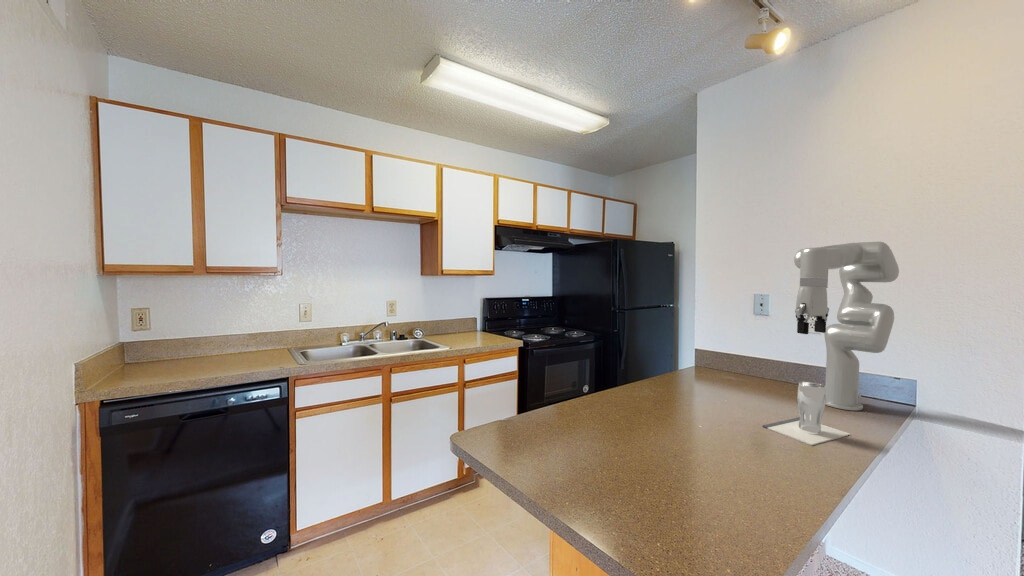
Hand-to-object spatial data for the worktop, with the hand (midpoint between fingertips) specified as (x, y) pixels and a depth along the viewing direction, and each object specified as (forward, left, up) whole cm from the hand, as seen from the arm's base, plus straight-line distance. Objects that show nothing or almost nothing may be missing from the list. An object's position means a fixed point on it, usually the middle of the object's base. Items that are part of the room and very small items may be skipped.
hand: (811, 332), depth 128 cm
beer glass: (+12, +7, -30) cm, 33 cm away
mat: (+12, +6, -30) cm, 33 cm away
